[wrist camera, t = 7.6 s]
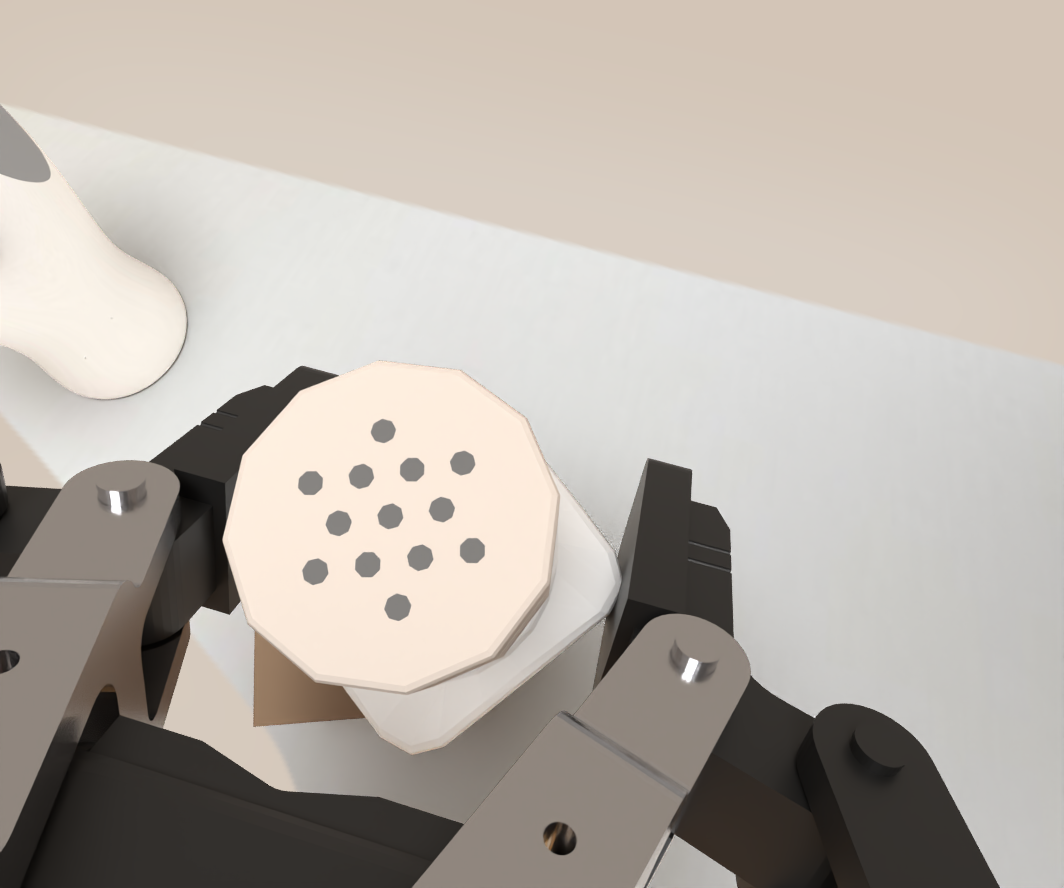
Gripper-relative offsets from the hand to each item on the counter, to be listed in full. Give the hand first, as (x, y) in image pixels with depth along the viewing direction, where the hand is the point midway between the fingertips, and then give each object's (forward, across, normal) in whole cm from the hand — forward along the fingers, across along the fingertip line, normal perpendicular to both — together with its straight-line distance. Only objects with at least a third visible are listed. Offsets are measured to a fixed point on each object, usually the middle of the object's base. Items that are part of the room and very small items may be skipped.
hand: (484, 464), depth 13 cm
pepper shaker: (+2, 0, +4) cm, 5 cm away
